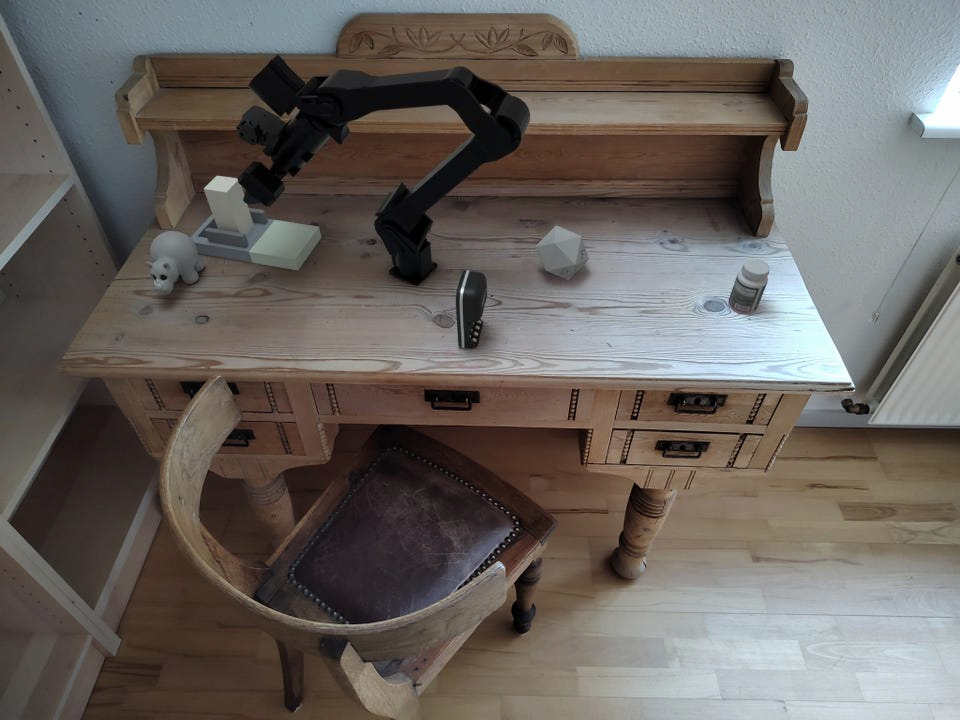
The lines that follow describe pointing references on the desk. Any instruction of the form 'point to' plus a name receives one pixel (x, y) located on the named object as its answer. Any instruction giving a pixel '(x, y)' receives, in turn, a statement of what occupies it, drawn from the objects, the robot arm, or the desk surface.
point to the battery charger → (470, 307)
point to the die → (562, 252)
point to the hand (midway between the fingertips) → (258, 187)
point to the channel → (260, 241)
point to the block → (228, 205)
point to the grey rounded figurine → (173, 261)
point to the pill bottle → (749, 286)
